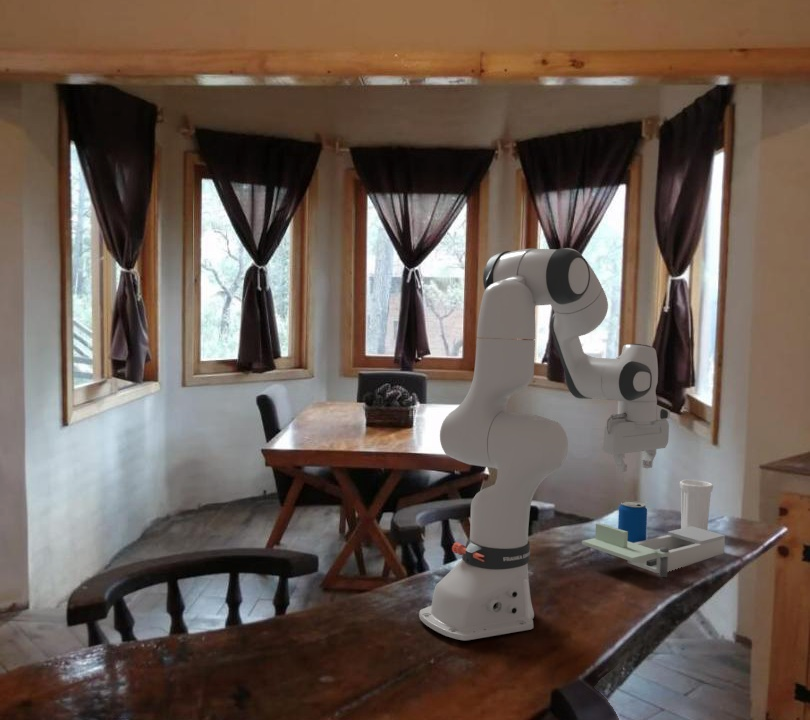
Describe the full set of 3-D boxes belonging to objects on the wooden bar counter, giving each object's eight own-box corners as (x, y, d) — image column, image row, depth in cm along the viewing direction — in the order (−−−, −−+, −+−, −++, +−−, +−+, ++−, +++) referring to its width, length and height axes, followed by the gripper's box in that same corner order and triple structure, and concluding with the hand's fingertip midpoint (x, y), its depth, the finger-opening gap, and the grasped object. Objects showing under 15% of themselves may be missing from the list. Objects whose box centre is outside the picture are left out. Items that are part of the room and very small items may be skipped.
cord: (650, 566, 166) (650, 562, 166) (646, 565, 167) (646, 560, 167) (710, 550, 179) (710, 546, 179) (706, 549, 180) (707, 545, 180)
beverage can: (648, 557, 175) (651, 507, 174) (621, 556, 175) (623, 506, 174) (640, 549, 181) (642, 500, 181) (614, 548, 181) (616, 499, 181)
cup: (687, 531, 198) (689, 478, 197) (716, 538, 192) (719, 483, 191) (671, 536, 193) (673, 482, 192) (700, 544, 186) (703, 487, 186)
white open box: (664, 578, 161) (665, 554, 160) (623, 563, 170) (624, 541, 169) (730, 558, 175) (732, 537, 175) (690, 546, 184) (691, 526, 184)
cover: (670, 555, 161) (671, 535, 161) (638, 563, 155) (639, 543, 155) (613, 537, 174) (614, 519, 174) (581, 544, 168) (582, 525, 168)
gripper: (618, 416, 168) (616, 476, 168) (674, 411, 179) (672, 467, 180) (596, 413, 173) (594, 471, 174) (652, 408, 184) (650, 463, 185)
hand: (634, 469), depth 177 cm, fingers open, 8 cm apart
